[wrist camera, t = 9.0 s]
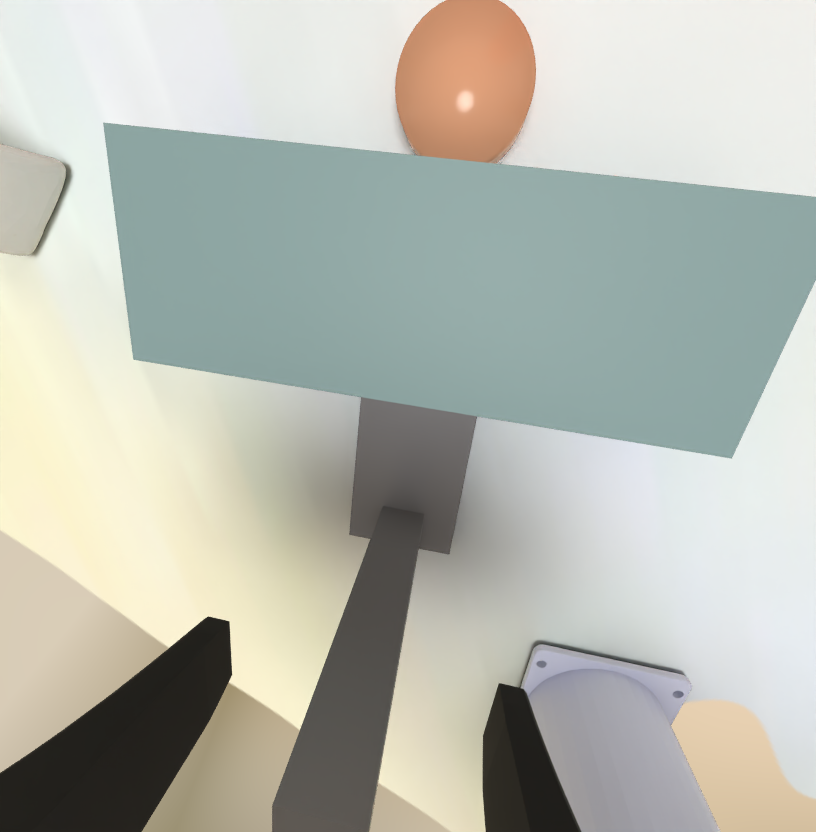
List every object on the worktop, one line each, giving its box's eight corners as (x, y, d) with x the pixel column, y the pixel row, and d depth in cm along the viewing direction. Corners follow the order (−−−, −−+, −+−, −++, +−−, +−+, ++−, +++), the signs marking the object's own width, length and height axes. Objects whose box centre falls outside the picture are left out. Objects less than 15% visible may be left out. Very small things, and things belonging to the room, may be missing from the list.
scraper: (449, 541, 19) (429, 901, 8) (354, 522, 20) (208, 839, 8) (494, 317, 15) (576, 403, 4) (374, 300, 16) (156, 337, 5)
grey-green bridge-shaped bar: (661, 412, 16) (731, 458, 12) (211, 342, 17) (133, 359, 13) (731, 227, 13) (853, 200, 9) (202, 167, 15) (103, 122, 11)
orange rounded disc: (510, 185, 14) (516, 173, 12) (395, 170, 14) (387, 157, 13) (542, 34, 12) (552, 0, 11) (412, 21, 13) (405, -13, 11)
